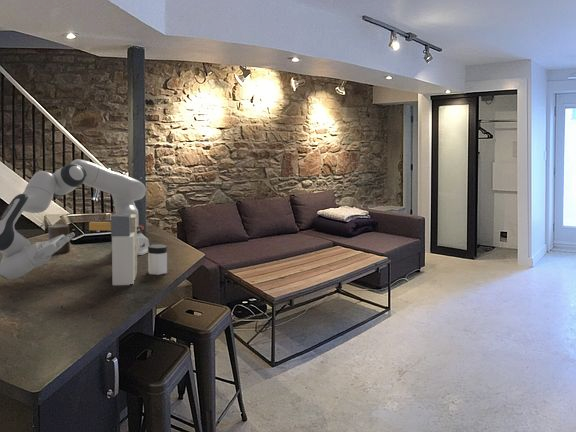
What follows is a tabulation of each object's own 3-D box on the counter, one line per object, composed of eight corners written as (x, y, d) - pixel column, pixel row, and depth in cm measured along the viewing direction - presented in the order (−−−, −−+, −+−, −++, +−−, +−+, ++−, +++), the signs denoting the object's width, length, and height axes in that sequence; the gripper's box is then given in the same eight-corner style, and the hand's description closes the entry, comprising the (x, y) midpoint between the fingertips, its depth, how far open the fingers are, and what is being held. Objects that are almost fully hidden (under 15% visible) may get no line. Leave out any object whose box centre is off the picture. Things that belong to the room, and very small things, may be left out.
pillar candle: (73, 251, 248) (73, 223, 246) (56, 254, 240) (55, 225, 238) (62, 249, 253) (61, 221, 251) (44, 252, 245) (43, 223, 243)
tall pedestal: (115, 277, 204) (115, 217, 200) (118, 272, 212) (117, 214, 209) (135, 277, 206) (135, 217, 202) (137, 272, 214) (136, 214, 211)
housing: (88, 236, 189) (88, 216, 188) (91, 233, 196) (90, 213, 195) (129, 236, 193) (129, 216, 192) (131, 232, 200) (130, 213, 198)
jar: (160, 268, 221) (160, 243, 219) (171, 272, 216) (171, 246, 214) (143, 272, 214) (143, 246, 213) (154, 275, 209) (154, 249, 208)
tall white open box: (112, 285, 193) (111, 236, 190) (115, 279, 202) (114, 232, 199) (133, 284, 195) (132, 236, 192) (135, 278, 204) (134, 232, 201)
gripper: (27, 252, 179) (61, 234, 180) (41, 241, 198) (72, 225, 200) (36, 266, 180) (70, 248, 182) (50, 254, 200) (80, 238, 202)
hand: (71, 236), depth 191 cm, fingers open, 8 cm apart
